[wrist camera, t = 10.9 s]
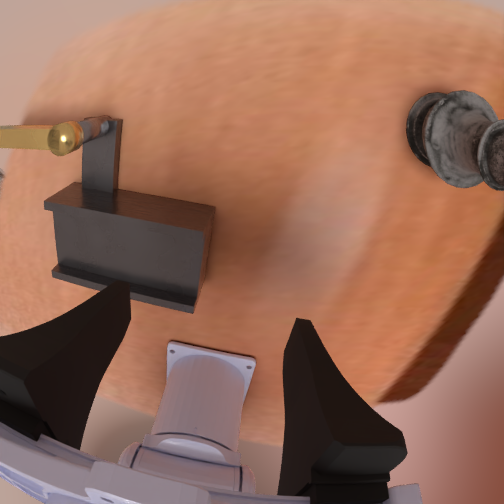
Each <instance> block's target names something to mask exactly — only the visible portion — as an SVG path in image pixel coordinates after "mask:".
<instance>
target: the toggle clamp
mask: <svg viewBox="0 0 504 504" xmlns="http://www.w3.org/2000/svg"><path fill="white" fill-rule="evenodd" d="M77 123H78V124H79V125H80V126H81V127H82V129H83V133H84V139H83V143H82V144H83V153H82V183H76V182H74V183H72V184H71V185H69V186H67V187H66V188H64V189H62V190H61V191H59V192H57V193H56V194H54V195H53V196H51V197H49V198H48V199H46V200H45V201H44V209H45V210H50V211H53V218H54V230H55V240H56V249H57V257H58V264H57V265H56V266H55V267H54V268H53V270H52V276H53V278H57V279H60V280H63V281H67V282H70V283H74V284H77V285H81V286H84V287H88V288H91V289H95V290H99V291H101V290H103V289H104V288H106V287H107V286H109V285H110V284H112V283H113V282H115V281H116V280H119V281H123V282H127V283H130V299H133V300H137V301H141V302H145V303H149V304H153V305H157V306H161V307H166V308H170V309H174V310H179V311H183V312H187V313H192V314H193V313H194V310H195V307H196V304H197V301H198V298H199V295H200V292H201V289H202V286H203V283H204V280H205V273H206V266H207V259H208V252H209V245H210V238H211V232H212V225H213V219H214V213H215V207H213V206H208V205H203V204H198V203H192V202H187V201H182V200H176V199H171V198H165V197H160V196H154V195H149V194H143V193H137V192H131V191H126V190H120V189H118V169H119V153H120V141H121V130H122V119H112V118H111V117H110V116H107V115H104V116H100V117H89V118H85V119H84V121H80V122H77Z"/></svg>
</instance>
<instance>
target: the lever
mask: <svg viewBox="0 0 504 504" xmlns="http://www.w3.org/2000/svg"><path fill="white" fill-rule="evenodd" d="M83 139H84V133H83V129H82V127H81V126H80V125H79V124H78V123H77V122H75V121H68V122H64V123H60V124H57V125H14V126H0V148H16V149H37V150H51V152H52V153H53V154H55V155H57V156H64V155H66V154H68V153H71V152H73V151H75V150H77V149H79V148H80V146H81V145H82V143H83Z"/></svg>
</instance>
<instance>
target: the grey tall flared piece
mask: <svg viewBox="0 0 504 504" xmlns="http://www.w3.org/2000/svg"><path fill="white" fill-rule="evenodd" d="M406 133H407V138H408V143H409V145H410V147H411V149H412V151H413V153H414V154H415V155H416V157H417V158H418V159H419V160H420V161H422V162H423V163H424V164H426V165H428V166H431V167H432V168H433V170H434V171H435V173H436V174H437V175H438V176H439V177H440V178H441V179H442V180H443V181H445V182H446V183H447V184H450V185H452V186H455V187H459V188H469V187H473V186H476V185H478V184H480V183H481V182H483V181H484V182H485V183H486V184H487V185H488V186H489V187H491V188H493V189H495V190H499V191H504V119H503V120H498V117H497V115H496V114H495V112H494V110H493V108H492V107H491V106H490V105H489V103H488V102H487V101H486V100H485V99H484V98H482V97H480V96H479V95H477V94H475V93H473V92H468V91H464V90H462V91H454V92H451V93H449V94H444V93H438V92H436V93H429V94H427V95H425V96H423V97H421V98H420V99H419V100H418V101H417V102H416V103H415V104H414V105H413V107H412V108H411V110H410V112H409V115H408V119H407V128H406Z"/></svg>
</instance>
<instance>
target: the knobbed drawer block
mask: <svg viewBox="0 0 504 504" xmlns="http://www.w3.org/2000/svg"><path fill="white" fill-rule="evenodd" d="M4 175H5V172H4V171H3V170H2V169H1V168H0V188H1V184H2V181H3V179H4Z"/></svg>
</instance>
